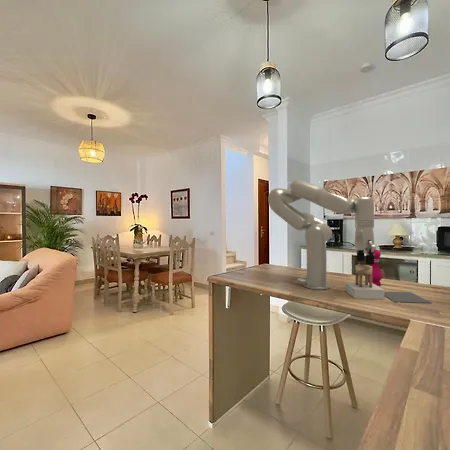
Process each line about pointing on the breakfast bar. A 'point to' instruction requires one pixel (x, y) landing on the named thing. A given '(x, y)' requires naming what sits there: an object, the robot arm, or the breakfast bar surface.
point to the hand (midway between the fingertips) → (365, 262)
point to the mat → (405, 297)
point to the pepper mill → (376, 269)
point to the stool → (364, 270)
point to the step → (364, 291)
